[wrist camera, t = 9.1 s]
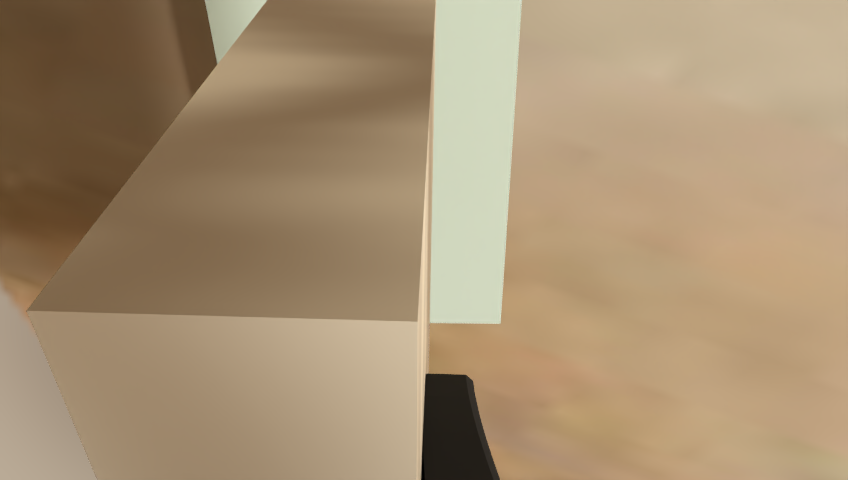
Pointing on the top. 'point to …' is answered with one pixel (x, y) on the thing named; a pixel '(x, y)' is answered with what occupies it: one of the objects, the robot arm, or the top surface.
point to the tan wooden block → (265, 264)
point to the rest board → (454, 146)
